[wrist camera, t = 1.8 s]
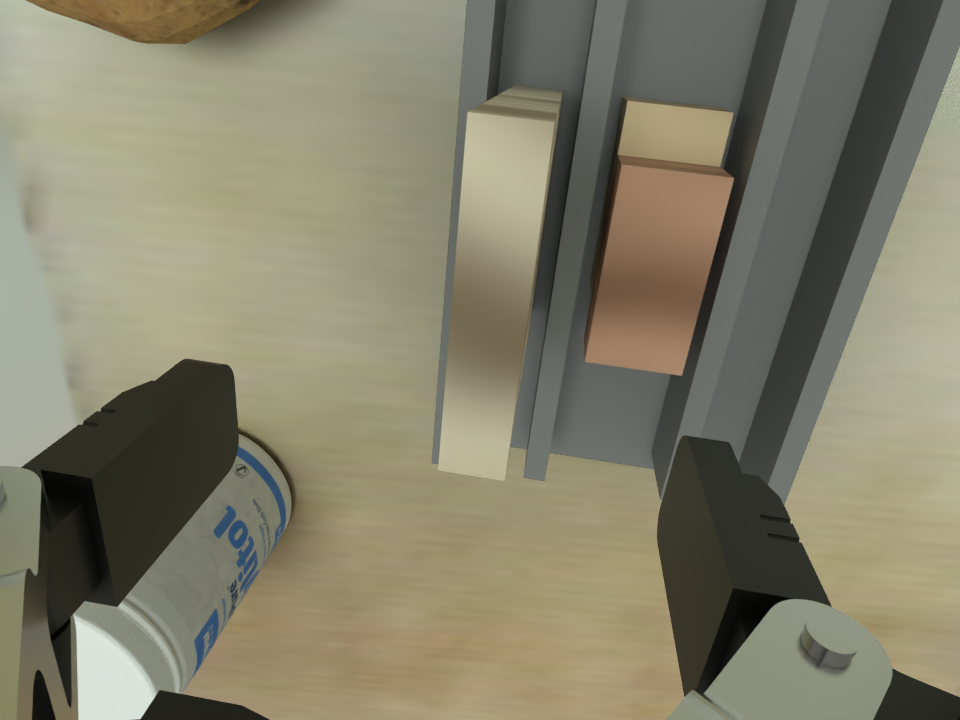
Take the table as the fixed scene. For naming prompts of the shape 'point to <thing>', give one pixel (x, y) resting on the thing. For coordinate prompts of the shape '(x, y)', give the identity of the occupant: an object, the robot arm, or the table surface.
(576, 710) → the table surface
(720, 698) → the robot arm
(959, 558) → the table surface
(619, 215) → the offcut upper
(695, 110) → the offcut lower
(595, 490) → the table surface
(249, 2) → the potato
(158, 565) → the supplement tub
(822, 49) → the rack
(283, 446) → the table surface
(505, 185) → the sheet
